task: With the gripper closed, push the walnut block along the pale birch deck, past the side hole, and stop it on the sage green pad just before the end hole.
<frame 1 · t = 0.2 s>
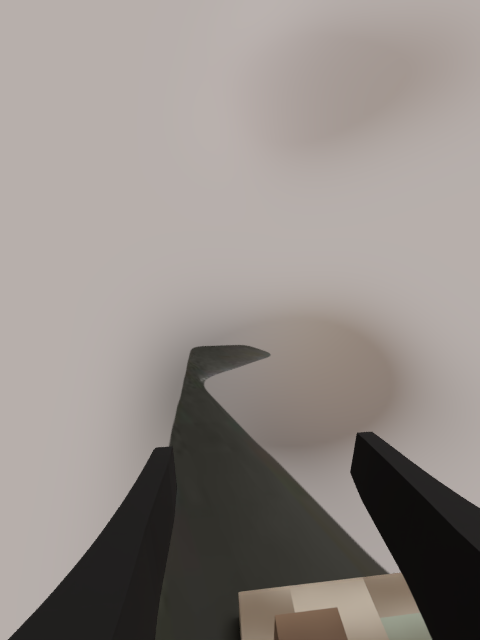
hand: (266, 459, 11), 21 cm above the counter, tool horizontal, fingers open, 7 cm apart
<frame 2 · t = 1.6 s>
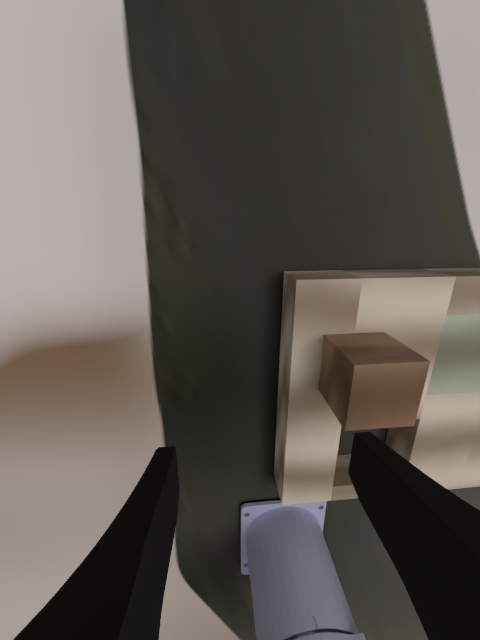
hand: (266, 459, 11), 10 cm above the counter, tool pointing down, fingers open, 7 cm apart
trap deck: (409, 378, 23), on the counter
walnut block: (350, 361, 19), point 3 cm above the counter, touching trap deck
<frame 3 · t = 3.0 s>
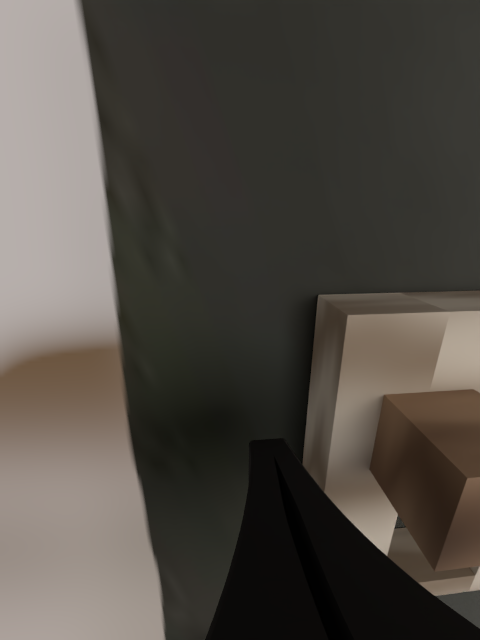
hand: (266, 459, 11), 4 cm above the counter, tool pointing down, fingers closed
walnut block: (419, 430, 12), point 3 cm above the counter, touching trap deck
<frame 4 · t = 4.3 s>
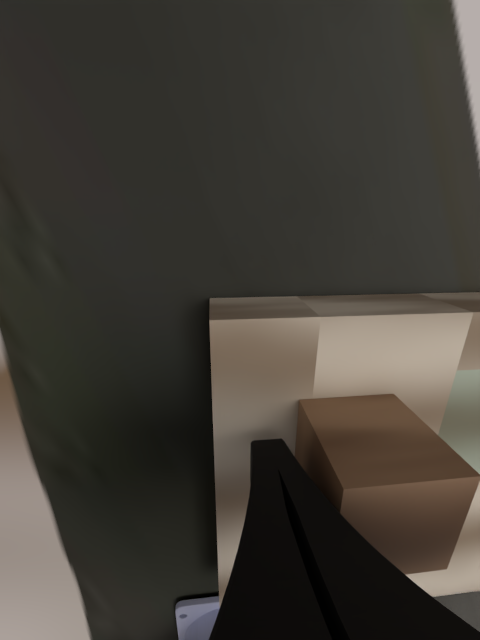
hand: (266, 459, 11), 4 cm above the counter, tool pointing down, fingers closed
trap deck: (402, 442, 17), on the counter
walnut block: (341, 436, 12), point 3 cm above the counter, touching gripper
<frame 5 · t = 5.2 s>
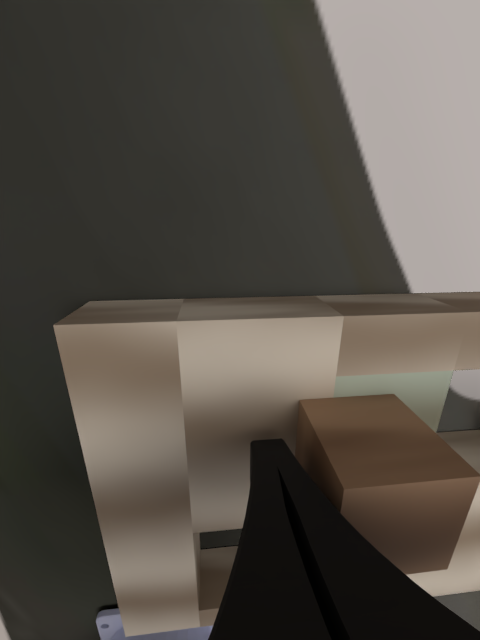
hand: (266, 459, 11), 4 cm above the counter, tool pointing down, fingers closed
trap deck: (317, 448, 16), on the counter
walnut block: (341, 436, 12), point 3 cm above the counter, touching gripper
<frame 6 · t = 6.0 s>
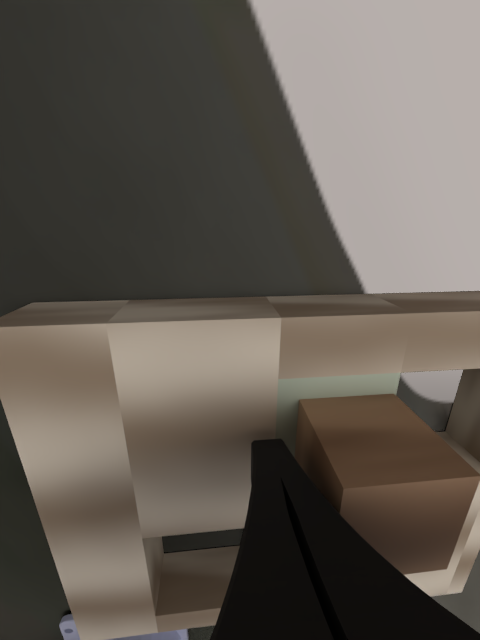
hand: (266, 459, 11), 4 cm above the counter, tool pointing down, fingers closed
trap deck: (278, 450, 16), on the counter
walnut block: (341, 436, 12), point 3 cm above the counter, touching gripper, trap deck
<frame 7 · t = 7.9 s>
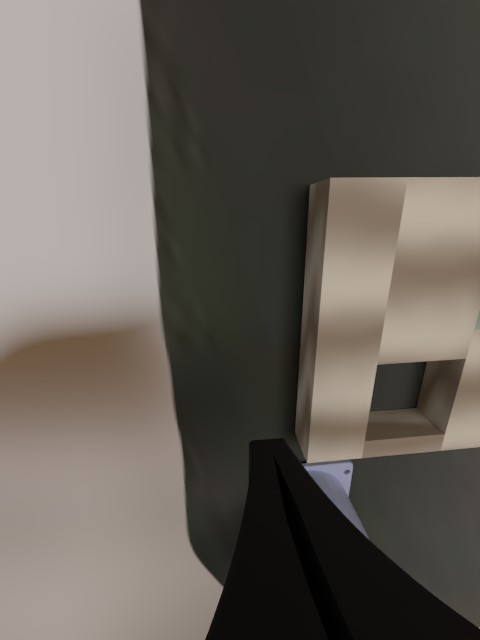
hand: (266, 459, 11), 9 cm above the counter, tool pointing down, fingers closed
trap deck: (448, 320, 21), on the counter
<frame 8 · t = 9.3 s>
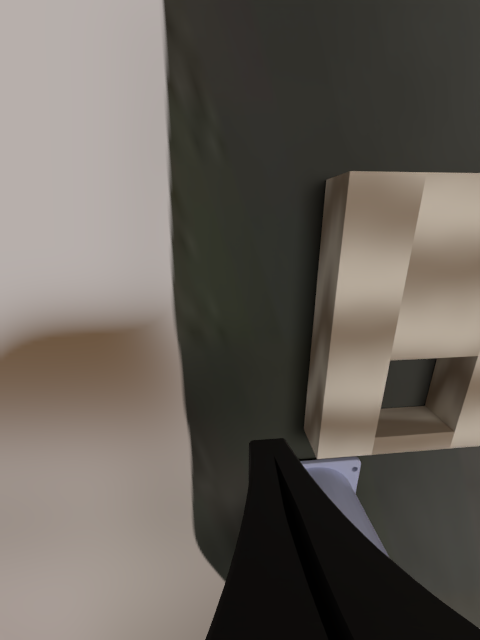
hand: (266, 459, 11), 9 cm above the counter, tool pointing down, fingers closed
trap deck: (459, 318, 21), on the counter
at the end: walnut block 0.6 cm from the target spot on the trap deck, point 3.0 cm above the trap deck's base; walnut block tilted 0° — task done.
